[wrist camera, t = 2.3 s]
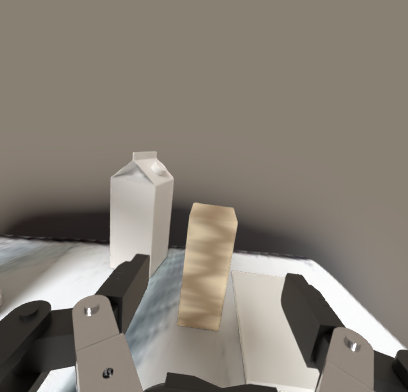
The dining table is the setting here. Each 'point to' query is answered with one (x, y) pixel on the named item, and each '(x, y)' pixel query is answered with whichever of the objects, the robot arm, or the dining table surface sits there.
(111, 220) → the milk carton
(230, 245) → the birch block
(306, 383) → the white board
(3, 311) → the dining table surface
